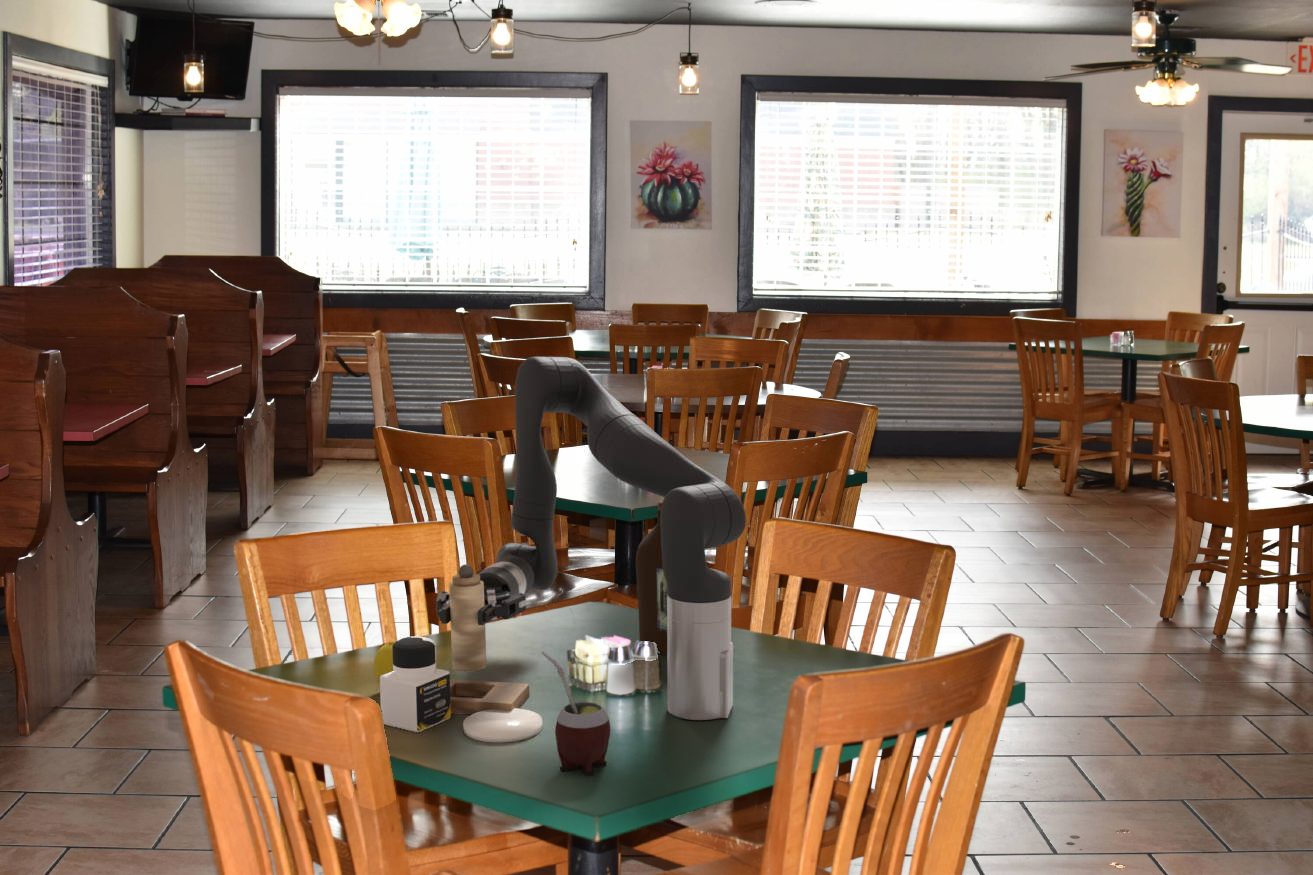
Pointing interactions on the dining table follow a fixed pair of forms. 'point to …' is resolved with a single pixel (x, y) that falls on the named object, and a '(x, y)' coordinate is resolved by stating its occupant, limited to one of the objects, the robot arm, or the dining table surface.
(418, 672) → the medicine bottle
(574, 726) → the mate gourd
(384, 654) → the lemon
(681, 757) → the dining table surface
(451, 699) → the frame
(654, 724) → the dining table surface
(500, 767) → the dining table surface
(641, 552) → the olive oil
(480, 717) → the saucer
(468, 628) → the pepper mill
